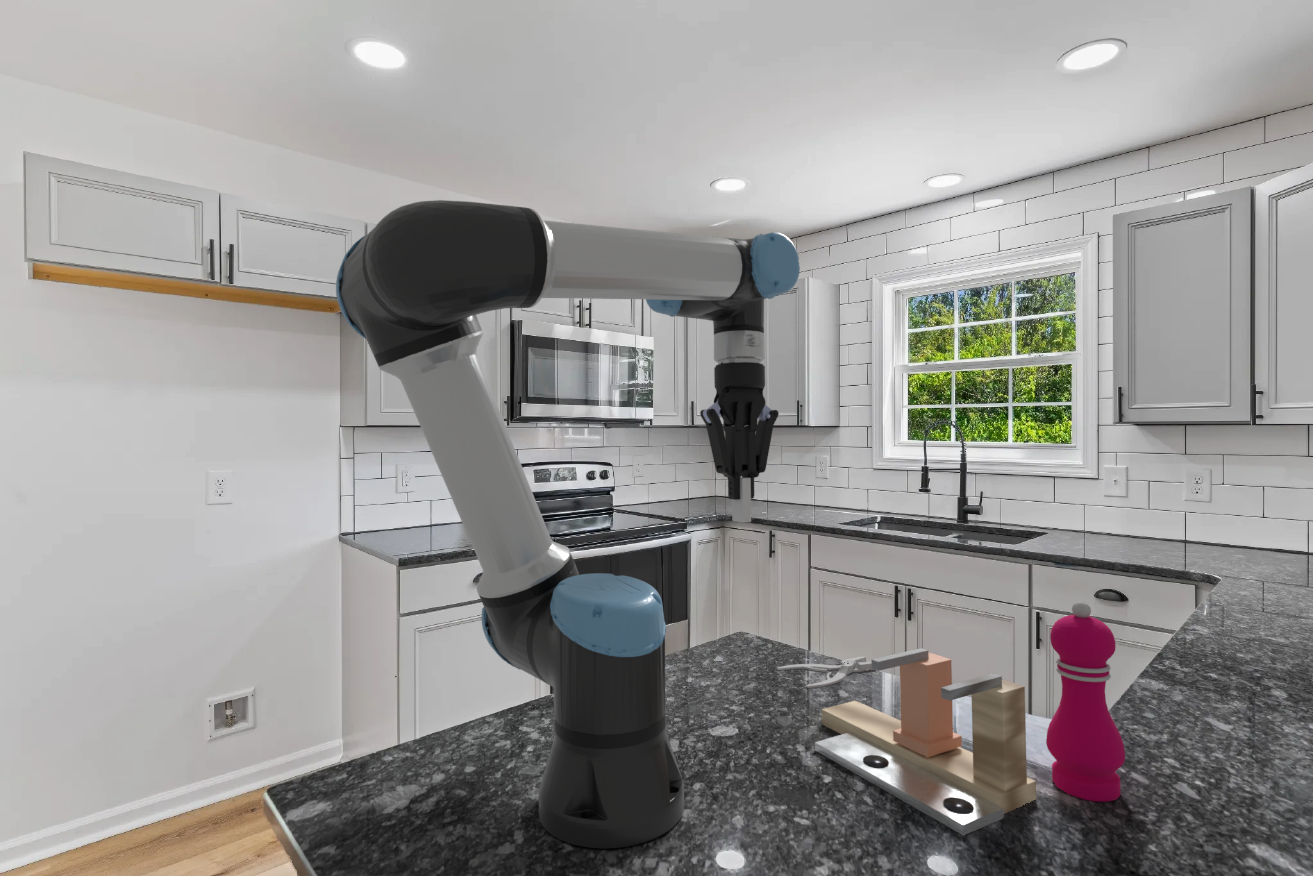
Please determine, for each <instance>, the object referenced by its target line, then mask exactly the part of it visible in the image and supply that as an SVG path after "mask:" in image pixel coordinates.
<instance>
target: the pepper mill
mask: <svg viewBox="0 0 1313 876" xmlns="http://www.w3.org/2000/svg"><path fill="white" fill-rule="evenodd" d="M1071 612H1072V613H1073V614H1069V615H1066V616H1063V617H1060V618H1059V619H1058V620H1056V621H1055V622H1054V624H1053V625H1052V627H1051V629H1050V633H1049V634H1050V635H1049V639H1050V645H1051V646H1052V649H1053V650H1054V651H1055V652H1056V653H1057V655H1058V657H1056V659H1055V663H1056V664H1057V665H1056V667H1055V670H1056V673H1057V674H1059V675H1060V678H1061V697H1060V701H1059V705H1058V707H1057V709H1056V710H1055V713H1054V715H1053V717H1052V718H1051V720H1050V722H1049V725H1048V728H1047V732H1046V740H1045V742H1046V747H1047V750H1048V752H1049V753H1050V755H1051V756H1052V757H1053V758H1054V759H1055V761H1054V762H1053V763H1052V764H1051V776H1052V777H1051V778H1052V779H1053V780H1052V779H1051V780H1052V782H1054V783H1055V784H1054V783H1053V784H1054V786H1055V787H1056V786H1057V787H1056V788H1058V789H1059V788H1060V789H1061V790H1060V789H1059V790H1060V791H1062V790H1063V791H1064V792H1063V791H1062V792H1063V793H1065V792H1066V794H1067V795H1070V796H1072V797H1075V798H1078V799H1082V800H1085V801H1091V802H1097V803H1098V802H1099V803H1105V802H1113V801H1116V800H1118V799H1119V797H1121V791H1122V790H1121V777H1120V775H1119V774H1118V773H1117V771H1118V770H1120V768H1121V767H1122V766H1124V763H1125V762H1126V761H1125V760H1126V752H1125V751H1126V750H1125V745H1124V742H1123V738H1122V736H1121V734H1120V731H1119V729H1118V728H1117V726H1116V725H1117V724H1116V723H1115V721H1114V720H1113V717H1112V716H1111V713H1110V711H1109V708H1108V704H1107V700H1106V698H1107V697H1106V686H1107V685H1106V683H1107V681H1109V680H1111V677H1112V675H1111V672H1110V670H1111V665H1110V664H1109V663H1107V662H1108V660H1110V658H1112V657H1113V655H1114V653H1115V652H1116V639H1115V635H1114V633H1113V632H1112V630H1111V628H1110V627H1109V626H1108V625H1107V624H1106V623H1104V622H1103V621H1101V620H1100V619H1098V618H1095V617H1093V616H1090V615H1091V614H1092V609H1091V606H1090V605H1089V604H1088V603H1087V602H1085V601H1075V602H1074V603H1073V604H1072V606H1071Z"/></svg>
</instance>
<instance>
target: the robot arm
mask: <svg viewBox="0 0 1313 876" xmlns="http://www.w3.org/2000/svg"><path fill="white" fill-rule="evenodd" d="M799 261H800V256H799V253H798V251H797V248H796V245H795V244H794V243H793V241H792V240H791V239H790V238H789V237H787V236H786V235H785V234H783V233H781V232H776V231H774V232H769V233H765V234H762V233H760V234H758V235H756V236H754V237H752V238H746V239H742V238H734V237H732V238H731V237H716V236H715V237H714V236H707V235H696V234H685V233H677V232H676V233H675V232H664V231H656V230H655V231H653V230H645V229H634V228H623V227H613V226H603V225H595V224H593V225H592V224H585V223H573V222H563V221H555V220H544V219H542V217H541V215H540V214H539V212H537V211H536V210H535V209H533V208H531V207H522V206H516V205H515V206H514V205H505V204H497V203H496V204H495V203H487V202H486V203H485V202H478V201H477V202H475V201H464V200H462V201H461V200H460V201H459V200H444V199H443V200H442V199H437V200H436V199H435V200H422V201H416V202H415V201H414V202H413V203H412V202H411V203H409V204H404V205H402V206H399V207H397V208H395V209H394V210H392V211H390V212H389V213H388V214H386V215H385V216H384V217H383V218H382V219H380V220H379V222H378V223H377V224H376V225H375V226H374V228H372V229H371V230H370V231H369V232H368V233H367V234H365V235H364V236H362V237H360V238H359V239H358V240H357V241H356V242H355V243H353V244H352V245H351V247H350V248H349V249H348V251H347V252H346V254H345V255H344V257H343V259H342V261H341V265H340V267H339V270H338V272H337V275H336V280H335V281H336V282H335V294H336V300H337V304H338V305H337V306H338V307H339V310H340V312H341V315H343V318H344V319H345V320H346V323H347V324H349V326H350V327H351V328H352V329H353V330H354V331H355V332H356V333H357V334H359V336H361V337H362V338H364V339H365V340H366V341H367V344H368V346H369V349H370V350H371V353H372V355H373V357H374V359H375V362H376V363H377V366H378V368H379V370H380V371H382V372H385V373H386V374H389V375H392V376H394V377H396V379H399V381H400V383H401V384H402V386H403V389H404V392H405V394H406V396H407V398H408V401H409V402H410V405H411V407H412V409H413V412H414V414H415V417H416V419H417V422H418V423H419V426H420V428H421V431H422V432H423V435H424V438H425V440H426V443H427V445H428V447H429V449H430V452H431V454H432V455H433V458H434V461H435V463H436V465H437V468H438V469H439V472H440V474H441V477H442V479H443V481H444V484H445V486H446V488H447V491H448V493H449V495H450V498H451V500H452V502H453V505H454V507H455V508H456V511H457V514H458V516H459V519H460V520H461V523H462V525H463V527H464V530H465V532H466V535H467V537H468V539H469V541H470V544H471V545H472V548H473V550H474V553H475V555H476V558H477V559H478V562H479V564H480V567H481V569H482V574H481V576H480V578H479V581H478V583H477V586H476V592H477V594H478V596H479V599H480V601H481V603H482V605H483V607H482V609H481V625H482V631H483V634H484V637H485V639H486V641H487V643H488V645H489V646H490V647H491V649H493V652H495V653H496V654H497V655H498V657H499V658H501V660H503V661H504V662H506V664H509V665H510V666H511V667H513V668H516V669H517V670H519V671H520V670H521V671H523V672H525V673H527V674H528V675H530V676H531V677H534V678H535V679H538V680H539V681H541V682H543V683H545V684H547V685H548V686H550V687H552V689H553V709H554V710H553V713H554V715H553V716H554V737H553V741H552V744H551V749H550V751H549V755H548V758H547V761H546V765H545V769H544V773H543V775H542V780H541V782H540V785H539V790H538V818H539V821H540V824H541V825H542V827H543V828H544V830H546V832H547V833H549V835H552V836H553V837H554V838H556V839H557V840H560V841H562V842H565V843H568V844H571V845H575V846H579V847H582V848H592V849H618V848H626V847H632V846H635V845H640V844H643V843H646V842H649V841H651V840H655V839H656V838H658V837H661V836H662V835H664V834H666V833H667V832H669V831H670V830H671V829H673V828H674V827H675V826H676V825H677V824H678V823H679V821H681V820H680V819H681V818H682V816H683V815H684V811H685V785H684V781H683V777H682V773H681V771H680V768H679V765H678V761H677V760H676V759H677V758H676V756H675V753H674V750H673V747H672V745H671V742H670V738H669V735H668V733H667V724H666V723H667V722H666V721H667V720H666V719H667V718H666V716H667V715H666V708H667V707H666V634H667V633H666V632H667V624H666V622H665V614H664V607H663V600H662V597H661V595H660V593H659V592H658V591H657V589H656V588H655V587H653V586H652V585H651V584H649V583H647V582H646V581H643V580H641V579H638V578H635V577H632V576H628V575H614V574H613V573H603V572H601V573H600V572H599V573H583V574H580V573H579V570H578V568H577V565H576V562H575V560H574V558H573V556H572V553H571V550H570V549H569V547H568V546H566V545H564V544H561V543H558V542H556V541H553V540H552V538H551V536H550V534H549V530H548V528H547V526H546V522H545V520H544V518H543V516H542V513H541V510H540V508H539V505H538V503H537V501H536V498H535V496H534V494H533V491H532V488H531V486H530V484H529V480H528V478H527V476H526V473H525V470H524V469H523V466H522V463H521V461H520V459H519V456H518V453H517V450H516V448H515V446H514V444H513V441H512V439H511V436H510V433H509V430H508V428H507V427H506V424H505V421H504V418H503V416H502V414H501V411H500V408H499V407H498V403H497V401H496V399H495V395H494V394H493V391H492V388H491V386H490V384H489V381H488V379H487V376H486V374H485V371H484V369H483V367H482V364H481V361H480V359H479V357H478V354H477V350H478V349H477V348H478V346H479V344H480V341H481V340H482V337H483V335H484V332H483V329H482V326H481V324H480V321H479V319H478V317H477V315H480V314H484V313H487V312H491V311H497V310H504V309H530V308H533V307H535V306H536V305H538V303H539V302H540V301H541V300H542V299H582V300H583V299H585V300H586V299H587V300H589V299H590V300H593V299H594V300H600V299H602V300H645V302H646V305H647V306H648V307H649V309H650V310H651V311H653V312H655V313H658V314H662V315H667V316H669V317H672V318H674V317H679V318H690V319H698V320H707V321H711V322H712V324H713V360H714V362H716V363H717V364H716V365H715V366H714V368H713V369H714V371H713V376H714V379H713V380H714V382H713V383H714V388H715V392H716V393H715V397H714V398H713V404H711V405H710V406H709V407H708V408H705V409H701V410H700V412H699V413H700V414H699V415H700V417H701V420H703V422H704V424H705V426H706V431H707V436H708V441H709V444H710V449H711V454H712V459H713V463H714V464H713V465H714V467H715V471H716V473H717V474H720V475H723V476H724V477H725V478H727V487H728V488H727V492H728V493H727V494H728V495H727V496H728V499H729V500H731V506H732V507H731V515H732V517H731V519H732V522H737V523H751V522H752V499H754V498H755V478H758V477H759V476H760V474H761V473H764V472H765V471H766V469H767V464H768V457H769V452H770V446H771V441H772V434H773V430H774V426H775V423H776V422H777V420H778V417H779V411H778V410H777V409H771V408H770V407H769V406H768V405H767V404H766V399H765V396H764V390H765V387H766V367H765V365H764V363H762V361H764V359H765V355H766V354H765V311H764V310H765V300H766V299H769V300H770V299H773V298H775V297H776V296H781V295H783V294H785V293H786V294H787V293H788V292H789V291H791V290H792V289H793V288H794V286H795V285H796V283H797V282H798V279H799V276H800V271H801V267H800V262H799ZM721 419H722V420H721ZM722 421H723V422H722Z"/></svg>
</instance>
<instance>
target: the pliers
mask: <svg viewBox="0 0 1313 876" xmlns="http://www.w3.org/2000/svg"><path fill="white" fill-rule="evenodd" d="M844 662H845V663H844ZM847 663H849V664H847ZM854 665H855V666H854ZM856 665H858V667H856ZM862 668H865V669H862ZM776 669H777V671H778V672H779V671H788V670H803V669H804V670H809V671H811V672H812V671H813V672H819V673H820V672H822V673H827V674H826V679H824V680H823V681H819V682H814V683H810V684H806V685H805V686H806V687H805V688H806V689H815V688H821V687H828V686H832V685H834V684H838V683H840V682H842V681H843V680H845V678H846V677H847V676H848V675H850V674H852V673H862V672H869V670H871V671H876V670H875V669H872V661H867V656H863V655H862V656H857V657H852V658H846V659H843V660H841V661H840V665H839V664H838V665H835V664H833V665H832V664H823V663H822V664H821V663H800V664H799V663H796V664H789V665H783V666H779V667H777V668H776ZM866 669H869V670H866ZM864 670H865V671H864ZM828 671H830V672H828ZM832 671H837V672H836V674H835V675H834V676H832V675H833V672H832ZM831 676H832V677H831Z"/></svg>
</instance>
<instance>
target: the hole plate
mask: <svg viewBox="0 0 1313 876" xmlns="http://www.w3.org/2000/svg"><path fill="white" fill-rule="evenodd" d="M814 751H815V752H817V753H819V754H821V755H822V756H824V757H826V758H827V759H830V760H831V761H833V762H834V763H836V764H838V765H839V766H841V767H843V768H845V769H846V770H848V771H851V772H852V773H853V774H855V775H858V776H859V777H861V778H862V779H864V780H866V781H867V782H869V783H871V784H873V785H874V786H876V787H877V788H880V789H881V790H883V791H885V792H887V793H888V794H890V795H892V796H894V797H895V798H897V799H899V800H900V801H902V802H904V803H906V804H907V805H909V806H911V807H912V808H914V809H917V810H918V811H920V812H921V813H923V814H925V815H927V816H928V817H930V818H932V819H934V820H935V821H937V822H939V823H941V824H943V825H944V826H946V827H947V828H949V829H952V830H953V831H954V832H956V833H958V834H960V835H961V836H966V835H968V834H970V833H972V832H974V831H977V830H980V829H982V828H984V827H987V826H989V825H991V824H993V823H996V822H999V821H1000V820H1001V821H1002V820H1003V819H1004V818H1005V814H1004V808H1002V807H1000V806H998V805H996V804H994V803H992V802H990V801H988V800H986V799H984V798H982V797H980V796H978V795H976V794H974V793H972V792H970V791H968V790H966V789H964V788H962V787H960V786H958V785H956V784H954V783H952V782H950V781H949V780H947V779H945V778H943V777H941V776H939V775H937V774H935V773H933V772H931V771H929V770H927V769H925V768H923V767H921V766H919V765H917V764H915V763H913V762H911V761H909V760H907V759H905V758H903V757H901V756H899V755H897V754H895V753H893V752H891V751H889V750H887V749H885V748H883V747H881V746H879V745H877V744H875V743H873V742H871V741H869V740H867V739H865V738H863V737H861V736H859V735H857V734H855V733H853V732H849V733H845V734H840V735H834V736H832V737H828V738H824V739H821V740H818V741H815V742H814Z"/></svg>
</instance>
